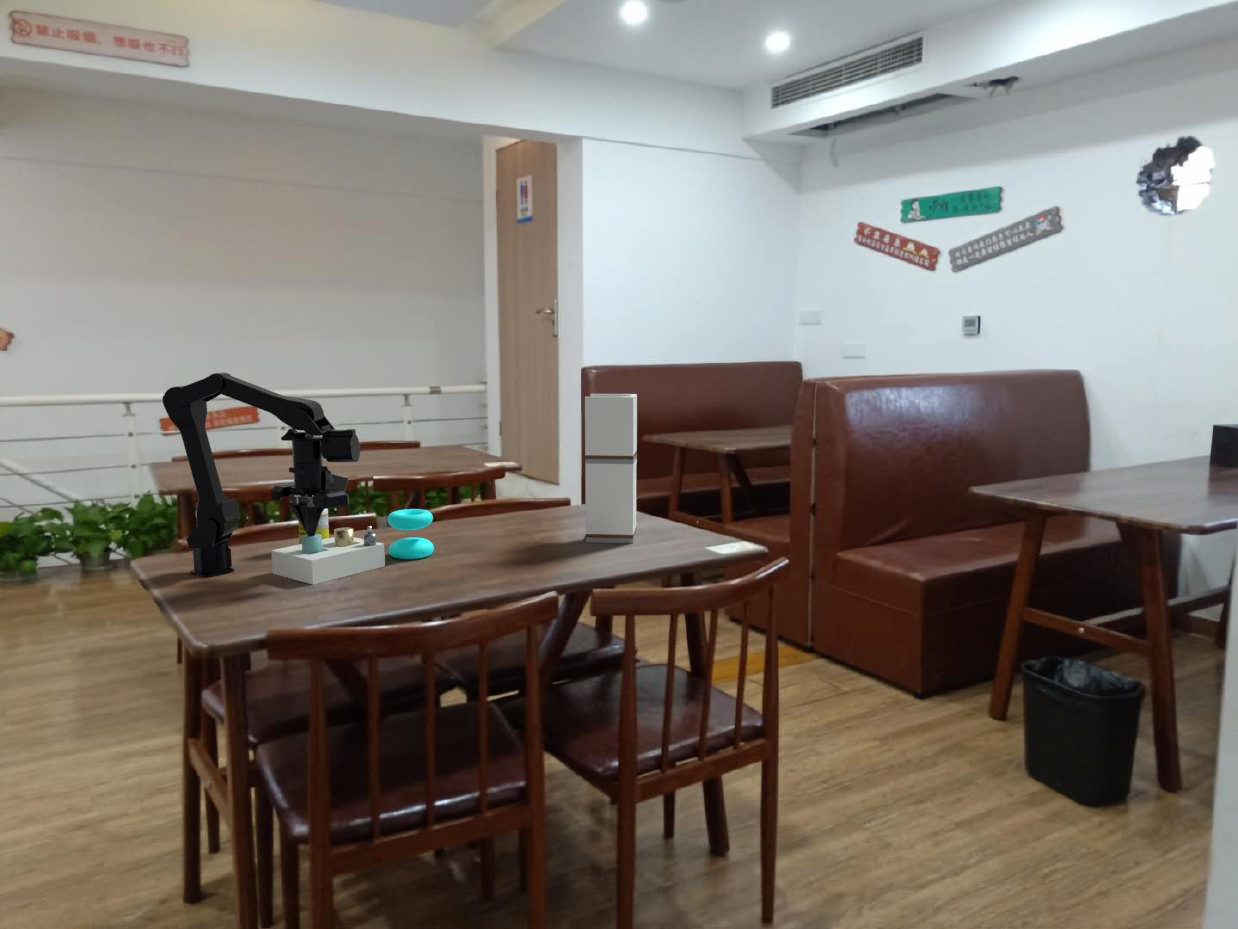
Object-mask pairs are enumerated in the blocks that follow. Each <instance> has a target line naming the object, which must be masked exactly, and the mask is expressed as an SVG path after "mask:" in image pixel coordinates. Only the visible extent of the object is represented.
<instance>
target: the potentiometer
mask: <svg viewBox="0 0 1238 929" xmlns="http://www.w3.org/2000/svg"><path fill="white" fill-rule="evenodd" d="M363 539H364V546H375V545H376V542H377V533H376V532H372V526H371V525H368V526H367V532H366V533H365V532H364V533H363Z"/></svg>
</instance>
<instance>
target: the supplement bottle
mask: <svg viewBox="0 0 1238 929" xmlns="http://www.w3.org/2000/svg"><path fill="white" fill-rule="evenodd" d="M312 496H313V495H312ZM297 521H298V522H297V523H298V525H297V526H298V543H299V544H302V538H301V537H302V536H303V535H307V533H306V532H305V530H304V528H303V526H302V525H301V523H300V521H299V519H298V518H297ZM329 527H330V526H329V508H328V509H324V510H323V512H322V514H321V517H320V519H319V523H318V526H317V529H316V533H315V534H320V535H322V540H323V539H327V538H330V530H329V529H330V528H329ZM299 544H298V545H299Z"/></svg>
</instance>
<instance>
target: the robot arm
mask: <svg viewBox="0 0 1238 929" xmlns="http://www.w3.org/2000/svg"><path fill="white" fill-rule="evenodd" d="M221 395H222V396H225V397H227V398H230V399H233V400H235V401H239V402H241V403H244V404H246V405H249V406H252V407H254V408H256V409H259V410H262V411H265V412H266V413H269V414H271V415H273V416H274V417H276V418H277V419H278V420H279V421H280V422H281V423H283V424H285V425H286V426H289V427H290V428H289V429H288V430H287V432H286V433H285V434H284V435H283V436H281V437H280V440H281V441H284V442H285V441H291V449H292V466H290V467H288V472H289V473H292V474H293V482H290V483H283V484H277V485H273V487H272V489H271V490H270V492H271V494H270V495H271V500H275V501H282V500H283V499H284V498H286V497H290V502H288V503H287V505H288V507H290V509H291V510H292V512H293V513H294V514H295V516H296V518H297V520H298V519H299V521H300V523H301V525H302V526H303V528H304V530H305V532H306V533H307V535H308V536H310V537H311V536H315V533H316V529H317V526H318V523H319V519H320V517H321V514H322V512H323V510H324V509H328V510H329V509H333V508H337V507H343V506H348V505H349V503H350V502H349V501H350V500H349V494H348V493H346V489H347V486H348V482H349V478H348V477H344V476H341V475H337V474H333V473H332V471H331V470H329V467H328V466H326V465H323V459H326V461H327V462H328V463H358V462H359V460H360V456H361V443H360V441H359V437H358V435H357V434H356V432H357V431H356V429H355V428H348V429H336V428H335V427H334V426H333V424H332V423H331V422H330V421H329V419H328V418H327V417H326V416H325V414H324V413H325V412H324V409H323V406H322V404H320V402H318V401H317V400H314V399H308V398H302V397H296V396H288V395H283V394H280V393H278V392H274V391H272V390H269V389H267V388H264V387H261V386H259V385H256V384H254V383H251V382H248V381H246V380H243V379H240V378H237V377H236V376H233V375H231V374H229V373H228V372H217V373H216V372H215V373H212V374H209V375H208V376H206V377H204V378H202V379H199V380H197V381H194V382H192V383H189V384H186V385H178V386H172V387H170V388H168V389H167V390H166V391H165V393H164V394H163V395H162V404H163V405H162V406H163V407H164V410H165V412H166V414H167V416H168V418H169V419H170V421H171V422H172V423H173V425H174V426H175V427H176V428H177V429H178V431H179V433H180V435H181V439H182V442H183V446H184V450H185V453H186V457H187V460H188V461H187V462H188V465H189V468H190V472H191V475H192V479H193V483H194V486H195V487H194V488H195V489H196V494H197V497H198V499H197V507H196V511H195V512H196V513H195V517H196V525H197V527H195V529H194V530H193V531H192V532H191V533H190V534H189V535H188V536H187V537H186V543H187V545H188V547H189V549H192V557H193V560H192V561H193V569H192V570H191V569H190V570H189V572H190V573H191V574H194V575H196V576H200V577H203V578H210V577H214V576H218V575H222V574H228V573H232V572H235V568H233V567H232V566H233V563H232V560H233V559H232V548H230V547H229V545H230V543H229V541H230V540H231V539H232V536H233V534H234V531H236V530H237V529H238V526H239V524H240V517H241V516H242V514H241V513H240V511H239V509H238V502H237V499H236V498H235V497H233V498H231V499H229V498H228V496H226V494H225V493H224V491H223V489H222V484H221V481H220V478H219V474H218V470H217V466H216V463H215V459H214V458H215V457H214V455H213V451H212V448H211V444H210V441H209V436H208V433H207V430H206V422H207V416H208V405H207V404H208V402H210V401H212V400H214V399H216V398H217V397H219V396H221ZM312 495H313V496H312Z"/></svg>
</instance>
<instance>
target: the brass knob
mask: <svg viewBox="0 0 1238 929" xmlns="http://www.w3.org/2000/svg"><path fill="white" fill-rule="evenodd" d="M354 531H355V530H354V528H353V527H349V526H348V527H347V526H345V527H339V528H335V529H333V533H334V534H333V537H334V541H335V546H338V547H345V546H350V545H354V537H355V536H354Z"/></svg>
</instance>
